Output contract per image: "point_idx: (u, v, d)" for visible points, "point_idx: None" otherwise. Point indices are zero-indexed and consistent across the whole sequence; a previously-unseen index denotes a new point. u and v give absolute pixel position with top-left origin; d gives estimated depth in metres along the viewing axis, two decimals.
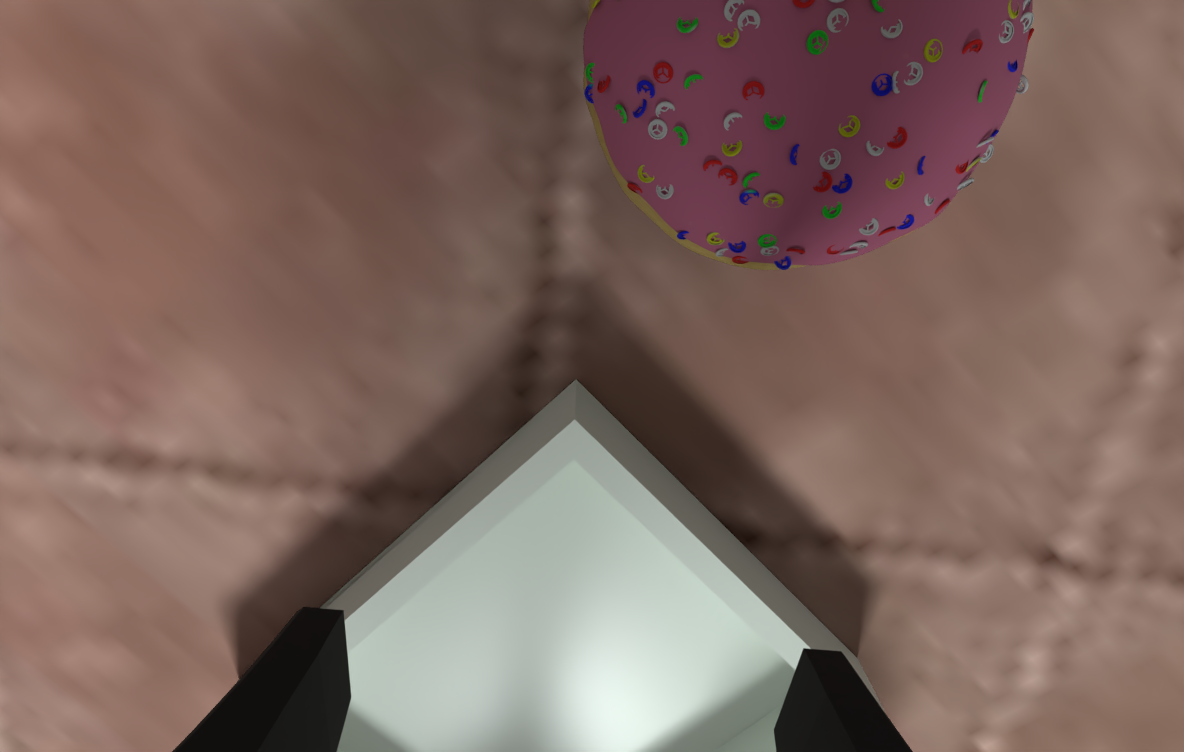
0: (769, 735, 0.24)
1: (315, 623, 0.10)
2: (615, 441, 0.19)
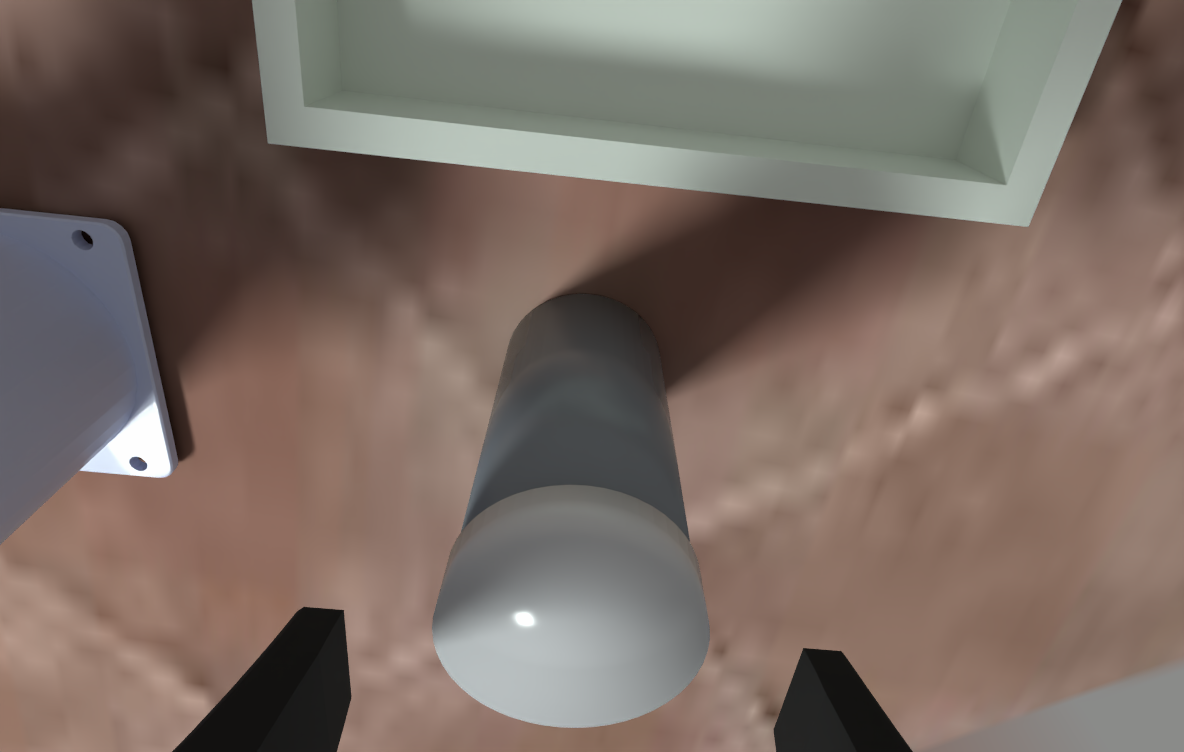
0: (848, 153, 0.16)
1: (314, 623, 0.10)
2: None
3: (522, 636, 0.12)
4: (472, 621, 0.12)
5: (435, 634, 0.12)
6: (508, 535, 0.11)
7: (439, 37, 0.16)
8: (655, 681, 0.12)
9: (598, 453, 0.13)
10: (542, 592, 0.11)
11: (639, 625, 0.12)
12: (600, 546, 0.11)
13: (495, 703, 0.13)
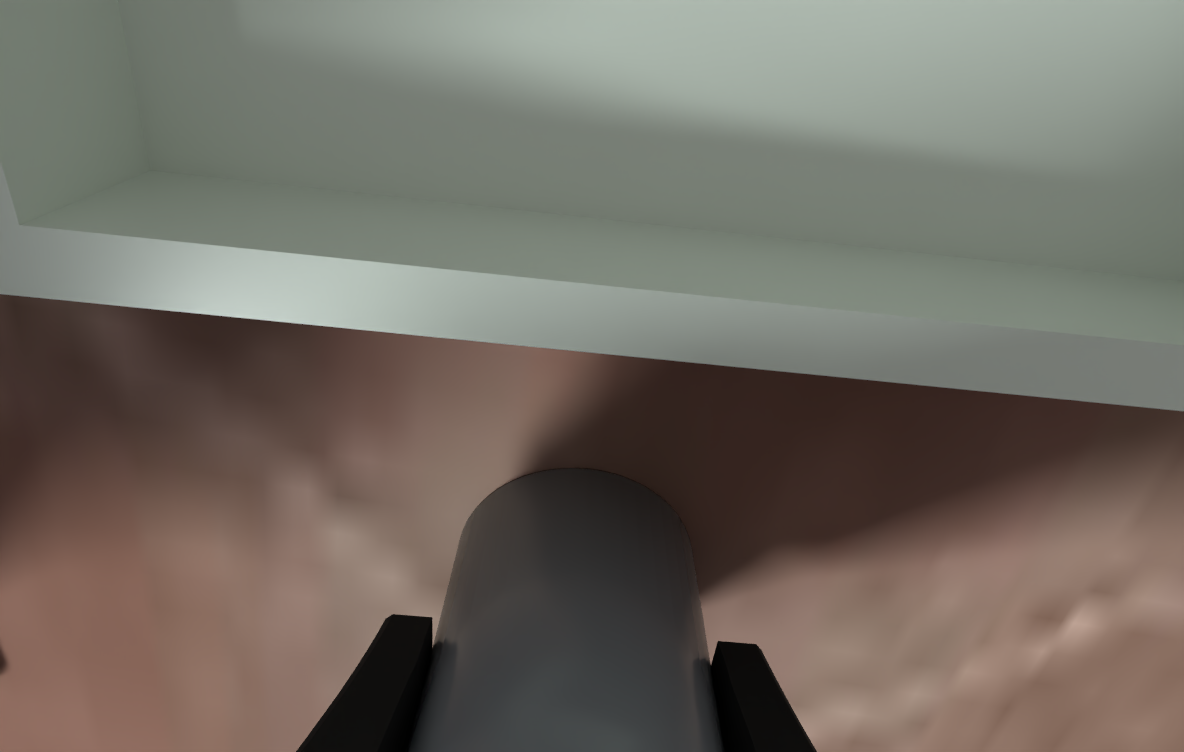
0: (1036, 283, 0.09)
1: (407, 631, 0.10)
2: None
3: None
4: None
5: None
6: None
7: (312, 79, 0.09)
8: None
9: None
10: None
11: None
12: None
13: None
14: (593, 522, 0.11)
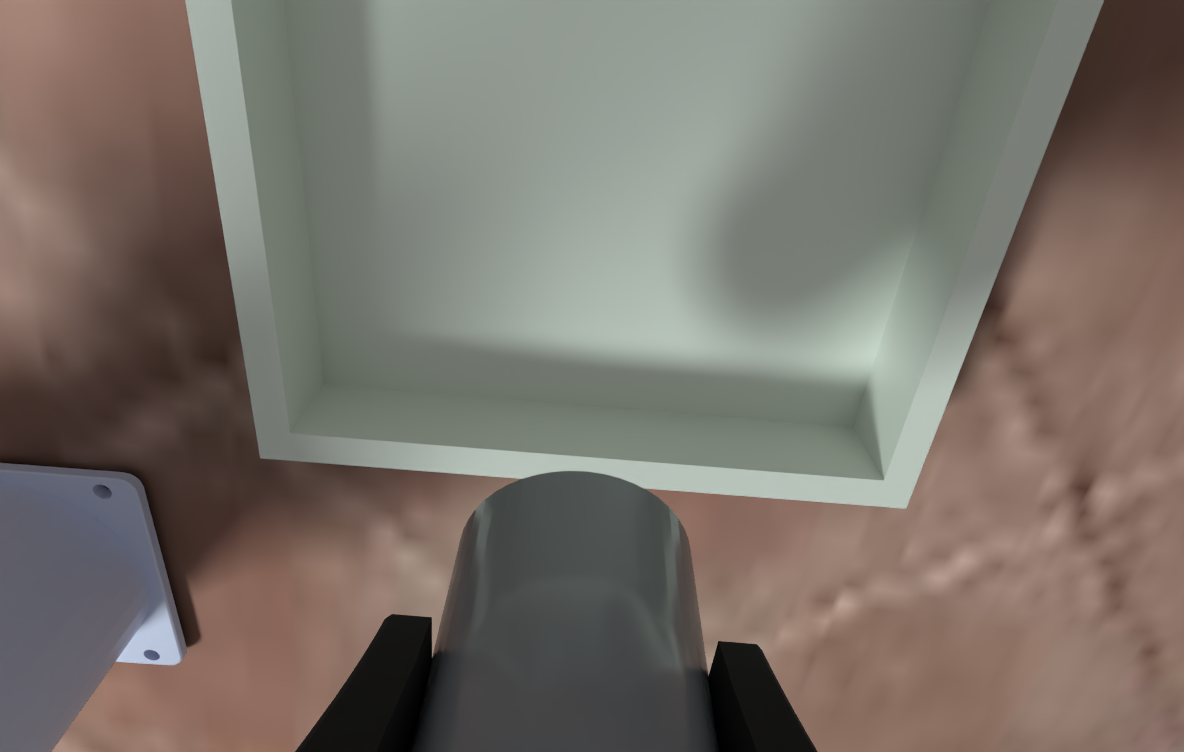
0: (756, 434, 0.19)
1: (405, 631, 0.10)
2: None
3: None
4: None
5: None
6: None
7: (405, 345, 0.18)
8: None
9: None
10: None
11: None
12: None
13: None
14: (592, 528, 0.11)
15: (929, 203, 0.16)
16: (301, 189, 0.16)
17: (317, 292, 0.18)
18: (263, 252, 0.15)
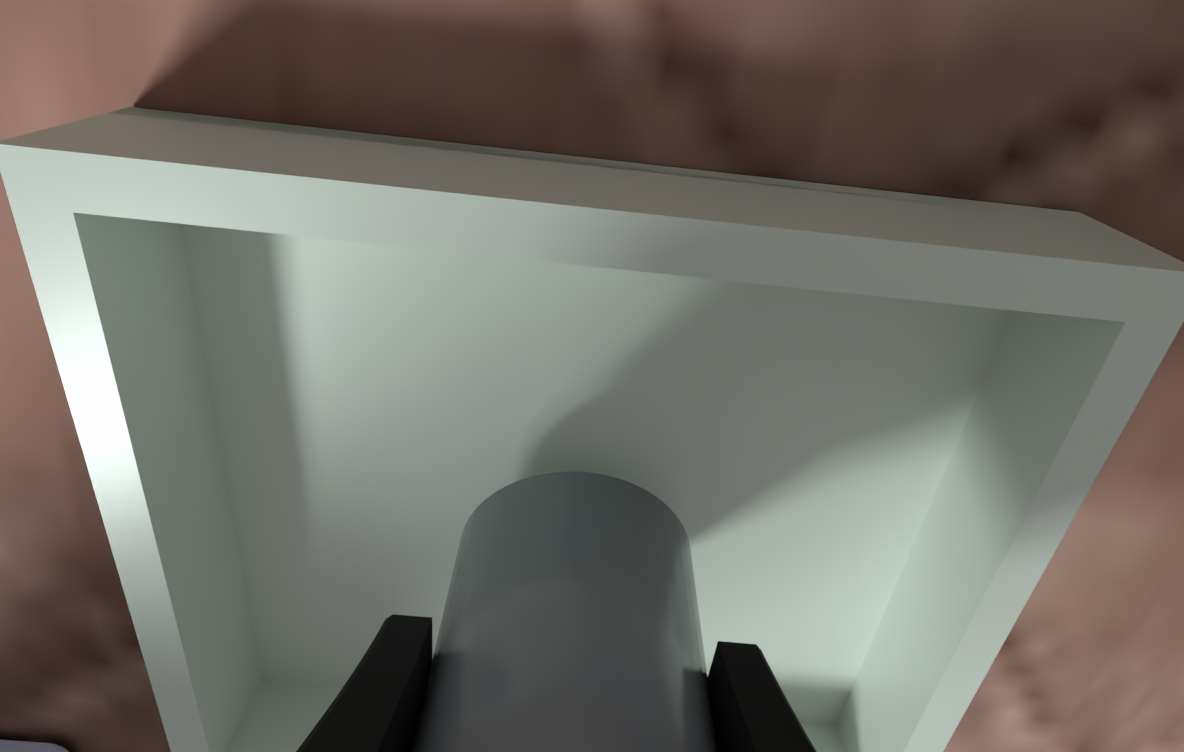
0: None
1: (406, 631, 0.10)
2: None
3: None
4: None
5: None
6: None
7: (349, 650, 0.17)
8: None
9: None
10: None
11: None
12: None
13: None
14: (592, 530, 0.11)
15: (920, 543, 0.15)
16: (228, 521, 0.15)
17: (250, 603, 0.16)
18: (176, 630, 0.13)
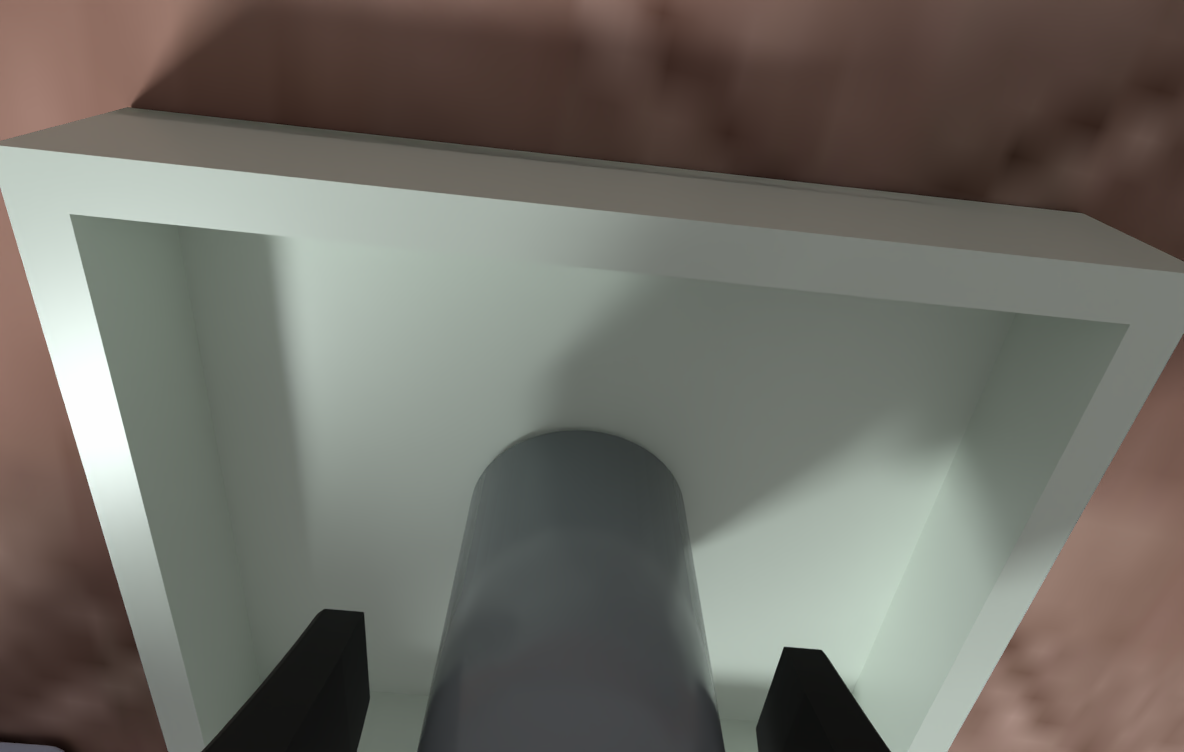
0: (731, 748, 0.17)
1: (336, 625, 0.10)
2: None
3: None
4: None
5: None
6: None
7: None
8: None
9: None
10: None
11: None
12: None
13: None
14: (595, 478, 0.12)
15: (922, 546, 0.15)
16: (226, 523, 0.15)
17: (249, 606, 0.16)
18: (174, 633, 0.13)
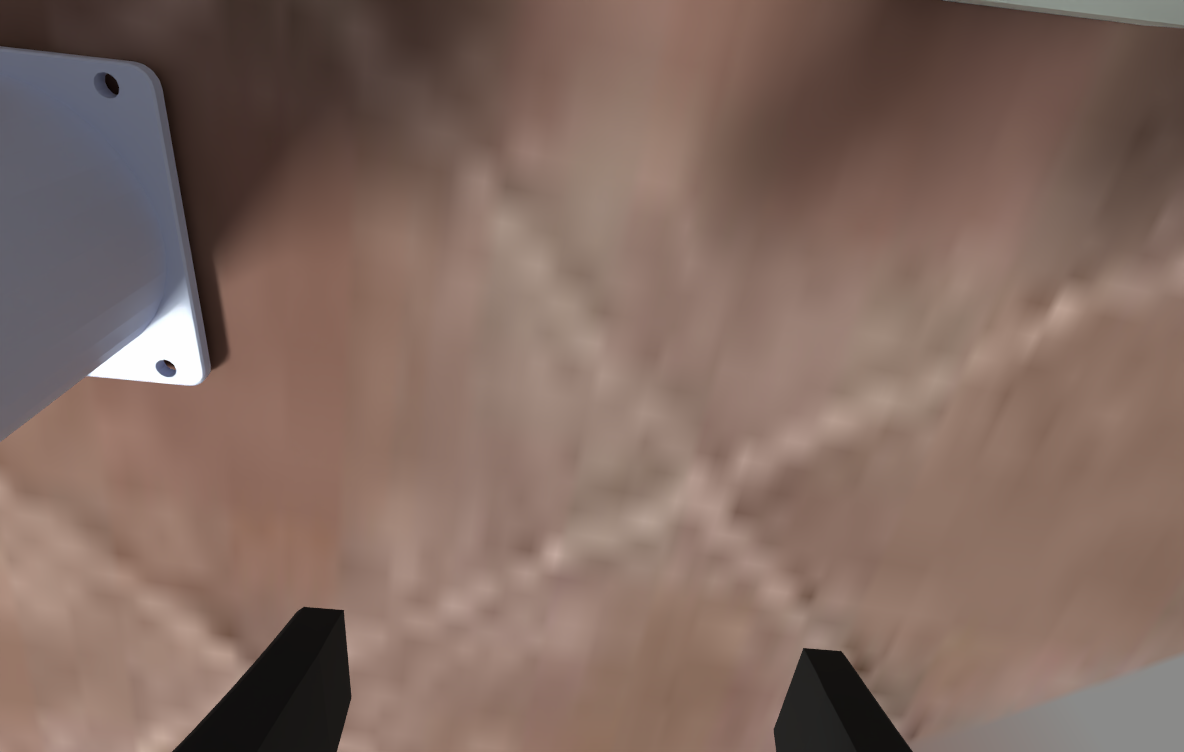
0: None
1: (314, 623, 0.10)
2: None
3: None
4: None
5: None
6: None
7: None
8: None
9: None
10: None
11: None
12: None
13: None
14: None
15: None
16: None
17: None
18: None
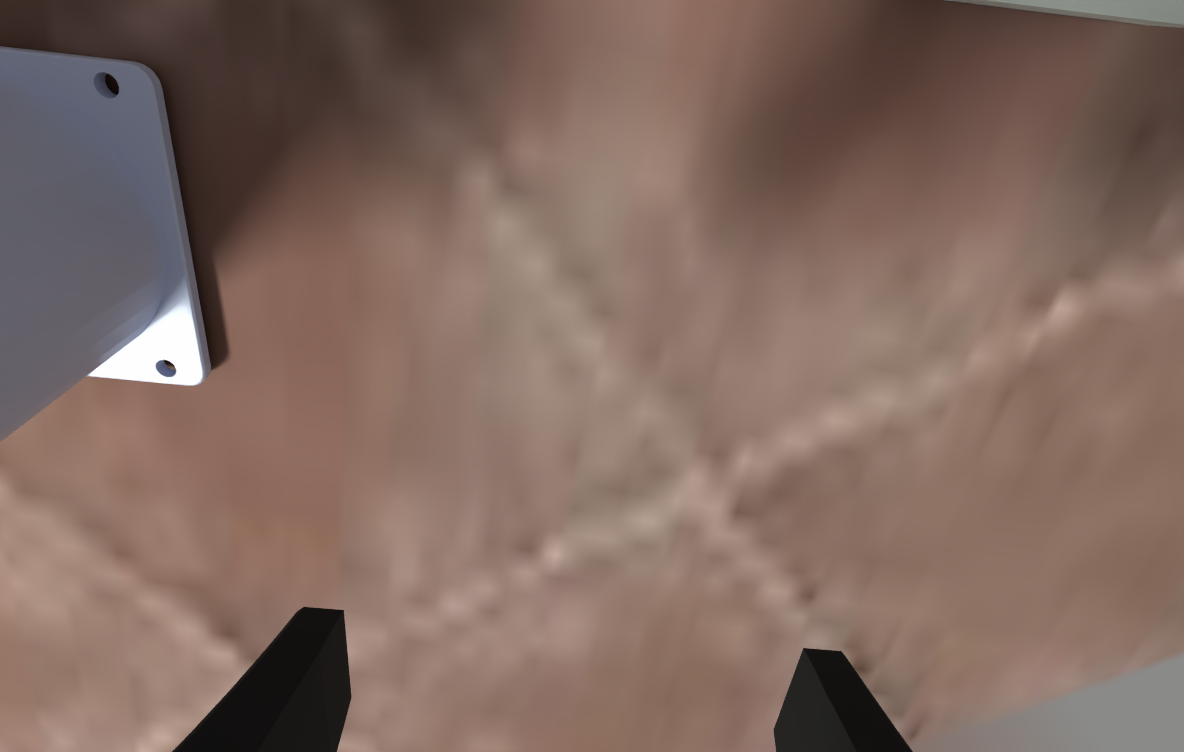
0: None
1: (314, 623, 0.10)
2: None
3: None
4: None
5: None
6: None
7: None
8: None
9: None
10: None
11: None
12: None
13: None
14: None
15: None
16: None
17: None
18: None
